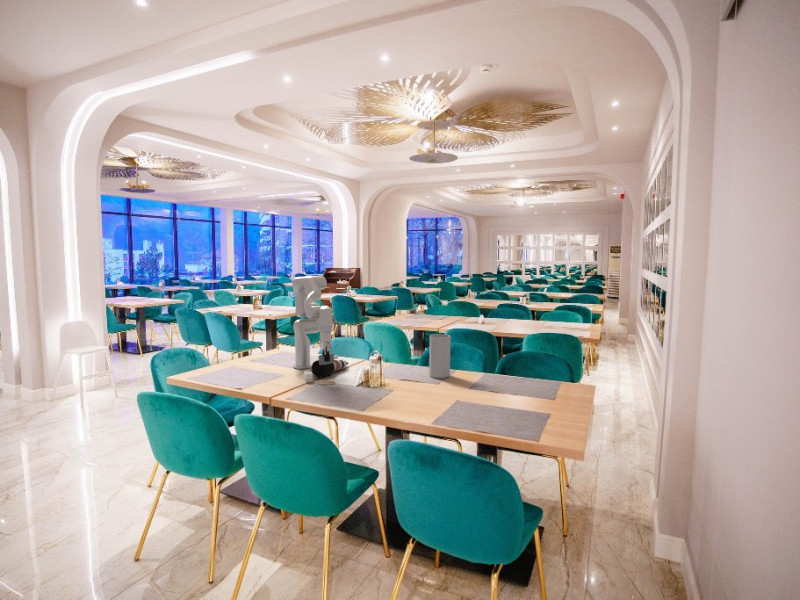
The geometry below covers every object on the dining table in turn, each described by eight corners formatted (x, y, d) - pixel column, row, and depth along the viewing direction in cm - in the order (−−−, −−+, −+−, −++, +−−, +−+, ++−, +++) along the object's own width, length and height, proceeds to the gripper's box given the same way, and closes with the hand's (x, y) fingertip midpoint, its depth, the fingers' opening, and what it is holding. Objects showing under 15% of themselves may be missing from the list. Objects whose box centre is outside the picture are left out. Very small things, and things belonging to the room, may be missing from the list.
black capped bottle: (349, 373, 301) (356, 360, 300) (320, 380, 271) (328, 366, 269) (338, 365, 305) (344, 352, 303) (308, 371, 274) (315, 357, 272)
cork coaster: (316, 381, 265) (316, 380, 265) (332, 379, 268) (332, 378, 268) (319, 385, 255) (319, 384, 255) (336, 384, 259) (336, 383, 259)
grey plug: (320, 365, 258) (318, 357, 257) (318, 364, 262) (317, 355, 261) (339, 361, 262) (337, 353, 261) (337, 360, 265) (336, 351, 265)
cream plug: (303, 379, 270) (303, 370, 270) (310, 378, 272) (309, 370, 271) (306, 383, 260) (306, 375, 260) (313, 383, 261) (313, 374, 261)
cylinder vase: (425, 376, 278) (425, 335, 276) (437, 372, 287) (437, 333, 285) (441, 379, 270) (442, 338, 268) (453, 375, 279) (454, 335, 277)
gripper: (316, 327, 266) (316, 358, 267) (322, 331, 250) (322, 364, 252) (329, 326, 268) (329, 357, 270) (335, 330, 253) (336, 363, 255)
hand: (326, 360), depth 261 cm, fingers closed on grey plug, 4 cm apart
